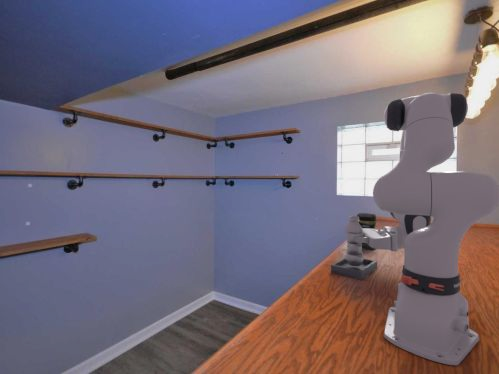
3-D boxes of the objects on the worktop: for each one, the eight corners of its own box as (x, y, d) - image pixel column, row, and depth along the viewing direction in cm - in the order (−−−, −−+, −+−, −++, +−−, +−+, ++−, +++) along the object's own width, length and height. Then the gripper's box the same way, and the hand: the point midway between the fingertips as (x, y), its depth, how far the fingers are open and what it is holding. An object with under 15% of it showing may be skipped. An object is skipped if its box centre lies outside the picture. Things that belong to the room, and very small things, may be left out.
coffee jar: (354, 248, 136) (354, 213, 135) (358, 244, 142) (358, 211, 141) (374, 251, 130) (374, 214, 129) (377, 247, 136) (377, 213, 135)
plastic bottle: (365, 268, 100) (365, 218, 99) (347, 267, 101) (346, 218, 101) (361, 263, 106) (361, 215, 106) (344, 262, 108) (344, 215, 107)
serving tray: (361, 280, 94) (361, 272, 94) (331, 272, 102) (330, 264, 102) (377, 268, 106) (377, 260, 106) (348, 261, 114) (348, 255, 114)
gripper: (380, 224, 111) (347, 224, 114) (398, 235, 91) (357, 234, 94) (380, 239, 111) (347, 238, 114) (398, 252, 91) (358, 251, 94)
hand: (352, 237), depth 104 cm, fingers closed on plastic bottle, 6 cm apart
